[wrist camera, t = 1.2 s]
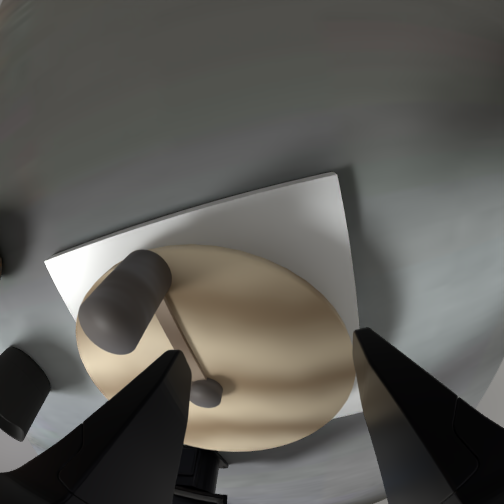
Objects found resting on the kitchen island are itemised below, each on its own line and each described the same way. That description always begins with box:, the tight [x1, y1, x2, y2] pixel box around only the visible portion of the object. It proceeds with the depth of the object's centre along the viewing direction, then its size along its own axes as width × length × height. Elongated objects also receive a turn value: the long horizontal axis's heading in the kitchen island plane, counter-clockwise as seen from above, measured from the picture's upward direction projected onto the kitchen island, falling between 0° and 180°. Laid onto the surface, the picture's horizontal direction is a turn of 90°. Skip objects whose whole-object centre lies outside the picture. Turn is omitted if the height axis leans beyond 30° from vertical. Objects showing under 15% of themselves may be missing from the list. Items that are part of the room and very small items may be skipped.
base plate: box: [44, 172, 363, 419], centre depth 22 cm, size 23×23×1 cm
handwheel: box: [76, 244, 356, 452], centre depth 18 cm, size 22×21×8 cm
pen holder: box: [0, 348, 50, 442], centre depth 24 cm, size 9×9×10 cm
